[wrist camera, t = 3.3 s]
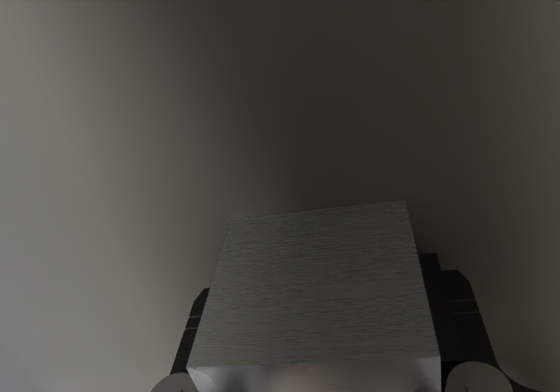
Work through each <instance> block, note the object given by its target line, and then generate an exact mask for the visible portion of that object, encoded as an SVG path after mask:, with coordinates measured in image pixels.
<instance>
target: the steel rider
mask: <svg viewBox="0 0 560 392" xmlns="http://www.w3.org/2000/svg"><path fill="white" fill-rule="evenodd" d="M186 369H187V371H188V372H189V374H190V376H191V378H192V380H193V382H194V384H195V386H196V388H197V390H198V391H199V392H441V357H440V353H439V348H438V344H437V339H436V335H435V330H434V326H433V321H432V317H431V312H430V308H429V303H428V299H427V294H426V290H425V285H424V281H423V276H422V272H421V267H420V263H419V258H418V254H417V249H416V245H415V240H414V236H413V232H412V227H411V223H410V218H409V214H408V209H407V205H406V200H396V201H387V202H377V203H368V204H359V205H350V206H341V207H332V208H322V209H313V210H304V211H295V212H286V213H276V214H267V215H258V216H249V217H240V218H231V221H230V224H229V228H228V231H227V234H226V238H225V241H224V244H223V248H222V251H221V254H220V257H219V261H218V264H217V267H216V271H215V274H214V277H213V280H212V284H211V287H210V290H209V294H208V297H207V300H206V303H205V307H204V310H203V313H202V317H201V320H200V323H199V327H198V330H197V333H196V336H195V340H194V343H193V346H192V350H191V353H190V356H189V359H188V363H187V366H186Z"/></svg>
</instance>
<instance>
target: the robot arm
mask: <svg viewBox="0 0 560 392" xmlns="http://www.w3.org/2000/svg"><path fill="white" fill-rule="evenodd" d="M418 258H419V263H420V267H421V272H422V276H423V281H424V285H425V290H426V294H427V299H428V303H429V308H430V312H431V317H432V321H433V326H434V330H435V335H436V339H437V344H438V348H439V353H440V357H441V392H540V391H536V390H533V389H529V388H526V387H524V386H522V385H520V384H518V383H516V382H515V381H513V380H512V379H510V378H509V377H508V376H507V375H506V374H505V373H504V372H503V371H502V370H501V368H500V367H499V365H498V363H497V361H496V359H495V356H494V353H493V350H492V347H491V344H490V341H489V338H488V335H487V332H486V329H485V326H484V323H483V320H482V317H481V314H480V313H479V308H478V305H477V302H476V301H475V296H474V293H473V291H472V288H471V285H470V282H469V281H468V280H467V279H466V278H465V277H464V276H463V275H462V274H461V273H460V272H459V271H458V270H445V271H441V269H440V265H439V262H438V258H437V255H436V253H430V254H418ZM209 290H210V288H206V289H204V290H203V291H202V292H201V294H200V295H199V296H198V297H197V299H196V300H195V301H194V303H193V306H192V309H191V312H190V315H189V316H190V318H189V319H188V322H187V325H186V330H185V331H184V334H183V337H182V340H181V343H180V346H179V349H178V352H177V355H176V358H175V361H174V364H173V367H172V370H171V372H170V375H169V376H167V377H165V378H164V379H162V380H161V381H160V382H159V383H157V384H156V386H155V387H154V388H153V389H152V391H151V392H199V391H198V390H197V388H196V386H195V384H194V382H193V380H192V378H191V376H190V374H189V372H188V371H187V369H186V366H187V363H188V359H189V356H190V353H191V350H192V346H193V343H194V340H195V336H196V333H197V330H198V327H199V323H200V320H201V317H202V313H203V310H204V307H205V303H206V300H207V297H208V294H209Z"/></svg>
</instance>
